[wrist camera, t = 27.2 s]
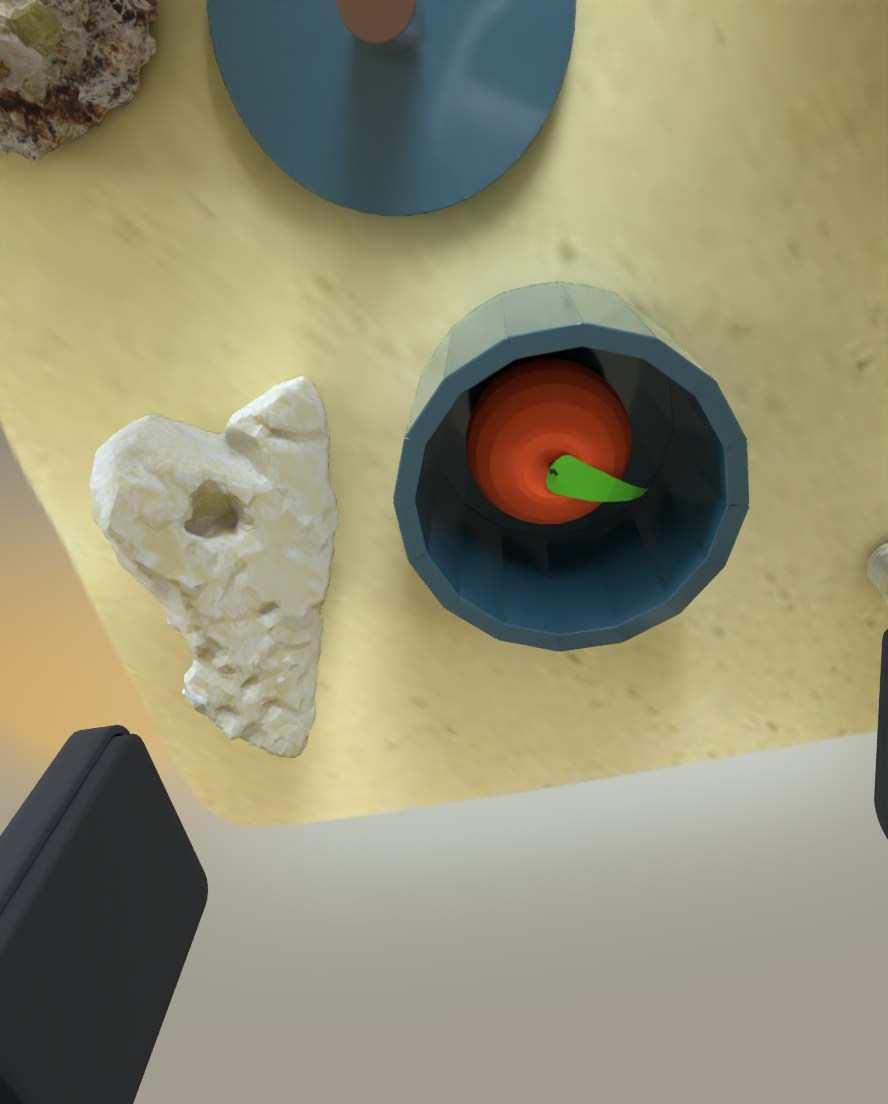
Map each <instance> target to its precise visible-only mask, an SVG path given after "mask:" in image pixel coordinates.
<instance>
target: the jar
mask: <svg viewBox="0 0 888 1104" xmlns="http://www.w3.org/2000/svg"><path fill="white" fill-rule="evenodd" d="M549 358H559V359H563V360H567V361H572V362H576V363H579V364H581V365H583V366H584V367H586V368H588V369H590V370H592V371H594V372H596V373H597V374H599V375H600V376H601V377H602V378H603V379H604V380H605V381H606V382H607V383H608V384H609V385H610V386H611V387H612V388H613V389H614V390H616V392H617V394H618V396H619V397H620V399H621V401H622V403H623V405H624V406H625V408H626V411H627V415H628V420H629V424H630V429H631V452H630V459H629V462H628V465H627V468H626V471H625V474H624V477H623V478H622V480H621V481H623V482H626V483H628V484H631V485H633V486H636V487H639V488H643V489H645V488H647V487H649V488H648V490H647V491H646V492H645V493H644V494H643V495H642V496H640V497H638V498H635V499H632V500H627V501H615V502H603V503H601V504H600V505H599V506H598V507H597V508H596V509H595V510H593V511H591V512H589V513H588V514H586V515H584V516H582V517H580V518H578V519H575V520H572V521H568V522H564V523H561V524H537V523H532V522H527V521H523V520H519V519H517V518H515V517H513V516H511V515H509V514H507V513H505V512H503V511H501V510H499V509H498V508H497V507H496V506H495V505H494V504H493V503H491V502H490V501H489V500H488V499H487V498H486V497H485V496H484V494H483V493H482V491H481V490H480V488H479V487H478V485H477V484H476V482H475V480H474V478H473V475H472V472H471V469H470V465H469V462H468V459H467V456H466V437H465V435H466V431H467V426H468V422H469V418H470V414H471V412H472V411H473V409H474V407H475V405H476V403H477V401H478V400H479V398H480V396H481V394H482V392H483V391H484V390H485V389H486V388H487V387H488V386H489V385H490V384H491V383H492V382H493V380H494V379H495V378H496V377H497V376H499V375H501V374H502V373H504V372H505V371H507V370H509V369H510V368H512V367H513V366H515V365H518V364H521V363H525V362H528V361H531V360H534V359H549ZM393 499H394V502H393V503H394V507H395V511H396V515H397V519H398V523H399V527H400V531H401V535H402V539H403V543H404V547H405V551H406V555H407V559H408V561H409V563H410V564H411V565H412V567H413V568H414V569H415V571H416V572H417V573H418V575H419V576H420V577H421V578H422V580H423V581H424V582H425V584H426V585H427V586H428V588H429V589H430V590H431V591H432V593H433V594H434V595H435V597H436V598H437V599H438V601H439V602H440V603H441V605H442V606H443V607H444V608H446V609H447V610H448V611H450V612H452V613H453V614H455V615H457V616H458V617H460V618H462V619H464V620H465V621H467V622H469V623H470V624H472V625H474V626H475V627H477V628H479V629H480V630H482V631H484V632H485V633H487V634H489V635H491V636H492V637H494V638H496V639H498V640H501V641H506V642H511V643H516V644H522V645H527V646H532V647H538V648H543V649H548V650H553V651H567V650H574V649H581V648H588V647H595V646H602V645H609V644H616V643H621V642H624V641H626V640H628V639H630V638H632V637H634V636H636V635H638V634H640V633H642V632H644V631H646V630H648V629H650V628H652V627H654V626H656V625H658V624H660V623H662V622H664V621H666V620H668V619H670V618H672V617H674V616H676V615H678V614H679V613H681V612H682V611H683V610H684V609H685V608H686V607H687V606H688V605H689V604H690V603H691V601H692V600H693V599H694V598H695V597H696V596H697V595H698V594H699V593H700V592H701V591H702V590H703V589H704V588H705V587H706V586H707V585H708V584H709V583H710V582H711V581H712V579H713V578H714V577H715V576H716V575H717V574H718V573H719V572H720V571H721V570H722V569H723V568H724V566H725V565H726V563H727V560H728V558H729V555H730V553H731V550H732V548H733V546H734V543H735V541H736V538H737V536H738V533H739V531H740V528H741V526H742V523H743V521H744V519H745V516H746V514H747V511H748V509H749V483H748V454H747V438H746V437H745V435H744V433H743V431H742V429H741V427H740V425H739V423H738V421H737V420H736V418H735V416H734V414H733V412H732V410H731V408H730V406H729V404H728V402H727V401H726V399H725V397H724V395H723V393H722V391H721V389H720V387H719V385H718V384H717V382H716V381H715V380H714V378H713V377H712V376H711V375H710V374H709V373H708V372H707V371H706V370H705V369H704V368H703V367H702V366H701V365H700V364H699V363H698V362H697V361H696V360H695V359H694V358H693V357H692V356H691V355H690V354H689V353H688V352H687V351H686V350H685V349H684V348H683V347H682V346H681V345H680V344H679V343H678V342H677V341H676V340H674V339H673V338H672V337H671V336H670V335H669V334H668V333H667V332H666V331H665V330H664V329H663V328H662V327H661V326H660V325H659V324H658V323H656V322H655V321H653V320H652V319H651V318H649V317H648V316H647V315H645V314H644V313H643V312H641V311H640V310H639V309H638V308H637V307H635V306H633V305H632V304H630V303H629V302H628V301H626V300H625V299H624V298H622V297H621V296H620V295H618V294H615V293H612V292H608V291H604V290H601V289H597V288H594V287H590V286H587V285H580V284H573V283H565V282H560V283H559V282H553V283H543V284H535V285H529V286H525V287H521V288H518V289H514V290H511V291H508V292H503V293H502V294H499V295H497V296H496V297H494V298H492V299H490V300H489V301H487V302H485V303H484V304H482V305H480V306H478V307H477V308H475V309H474V310H473V311H472V312H470V313H469V314H468V315H466V316H465V317H464V318H463V319H461V320H460V321H459V322H458V323H456V324H455V325H454V326H453V327H452V328H451V329H450V331H449V332H448V334H447V335H446V337H445V338H444V339H443V340H442V342H441V343H440V344H439V346H438V347H437V349H436V351H435V352H434V354H433V356H432V358H431V359H430V361H429V362H428V364H427V366H426V367H425V369H424V370H423V372H422V374H421V378H420V381H419V385H418V389H417V392H416V396H415V400H414V404H413V407H412V411H411V415H410V418H409V422H408V426H407V430H406V433H405V437H404V442H403V447H402V453H401V459H400V464H399V470H398V475H397V481H396V486H395V492H394V497H393Z"/></svg>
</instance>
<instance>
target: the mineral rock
mask: <svg viewBox="0 0 888 1104" xmlns="http://www.w3.org/2000/svg"><path fill="white" fill-rule="evenodd" d="M157 6H158V3H157V1H156V0H0V154H1V155H8V152H15V153H18V154H19V153H20V154H21V155H23V156H24V157H26V158H27V159H29V160H30V161H32V162H35V161H38V160H41V158H42V156H43V155H44V154H45V153H47V152H49V151H51V150H53V149H56V148H59V143H60V142H64V141H72V140H73V139H75V138H80V137H81V136H82V135H83V134H84V133H85V132H87V130H88V127H90V126H99V124H100V122H101V120H102V119H103V118H104V116H105V115H106V113H107V111H108V110H110V109H112V108H114V107H115V106H125V105H127V104H128V103H129V102H130V100H132V98H133V95H134V93H135V92H136V90H137V89H138V88H140V81H139V73H140V67H142V66H143V65H144V64H146V63H147V62H148V61H149V59H150V56H151V55H153V54H156V53H157V52H156V41H155V39H154V38H153V37H152V36H151V35H150V34H149V27H150V26H151V25H152V24H153V23H155V21H156V18H157V15H158V14H157V13H158V12H159V11H158V7H157Z"/></svg>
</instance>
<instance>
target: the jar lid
mask: <svg viewBox="0 0 888 1104" xmlns="http://www.w3.org/2000/svg"><path fill="white" fill-rule="evenodd" d="M207 10H208V18H209V27H210V34H211V39H212V43H213V48H214V52H215V56H216V61H217V64H218V67H219V69H220V72H221V75H222V78H223V81H224V84H225V87H226V89H227V91H228V93H229V96H230V98H231V100H232V102H233V104H234V106H235V108H236V110H237V112H238V114H239V116H240V117H241V119H242V120H243V122H244V124H245V125H246V127H247V129H248V130H249V132H250V134H251V135H252V136H253V137H254V139H255V140H256V141H257V143H258V144H259V145H260V146H261V148H262V149H263V150H264V152H265V153H266V154H267V155H268V156H269V157H270V158H271V159H272V160H273V161H274V162H275V163H276V164H277V165H278V166H279V167H280V168H281V169H282V170H283V171H284V172H285V173H286V174H288V175H289V176H290V177H292V178H293V179H294V180H295V181H297V182H298V183H299V184H300V185H302V186H303V187H305V188H306V189H308V190H310V191H311V192H313V193H315V194H316V195H318V196H320V197H321V198H323V199H326V200H328V201H330V202H333V203H335V204H337V205H339V206H342V207H345V208H348V209H352V210H355V211H359V212H362V213H368V214H375V215H382V216H410V215H417V214H424V213H430V212H433V211H436V210H440V209H443V208H447V207H450V206H452V205H454V204H457V203H459V202H461V201H463V200H465V199H468V198H470V197H472V196H473V195H475V194H476V193H478V192H479V191H481V190H483V189H484V188H486V187H487V186H489V185H490V184H492V183H493V182H494V181H495V180H496V179H498V178H499V177H500V176H501V175H502V174H504V173H505V172H506V171H507V170H508V169H509V168H510V167H511V166H512V165H513V164H514V163H515V162H516V161H517V160H518V158H519V157H520V156H521V155H522V154H523V153H524V152H525V151H526V149H527V148H528V146H529V145H530V144H531V142H532V141H533V140H534V138H535V137H536V135H537V134H538V133H539V131H540V129H541V128H542V126H543V124H544V122H545V120H546V119H547V117H548V115H549V113H550V111H551V110H552V107H553V105H554V103H555V100H556V98H557V95H558V93H559V90H560V88H561V86H562V83H563V79H564V76H565V72H566V69H567V65H568V62H569V58H570V54H571V48H572V42H573V36H574V30H575V15H576V0H207Z"/></svg>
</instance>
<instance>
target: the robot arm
mask: <svg viewBox="0 0 888 1104" xmlns="http://www.w3.org/2000/svg"><path fill="white" fill-rule="evenodd" d="M874 801H875V809H876V813H877V817H878V820H879V823H880V826H881V828H882V830H883V832H884V834H885V835H886V837H887V839H888V630H886V631H885V632H884V634H883V639H882V655H881V675H880V694H879V714H878V735H877V754H876V775H875V794H874ZM207 895H208V884H207V878H206V875H205V872H204V870H203V868H202V866H201V864H200V862H199V860H198V858H197V856H196V853H195V851H194V849H193V847H192V845H191V842H190V841H189V838H188V836H187V834H186V832H185V830H184V828H183V826H182V824H181V821H180V819H179V817H178V815H177V813H176V810H175V808H174V807H173V804H172V802H171V800H170V798H169V796H168V793H167V792H166V790H165V787H164V785H163V783H162V781H161V779H160V776H159V774H158V772H157V770H156V768H155V766H154V764H153V761H152V760H151V757H150V755H149V753H148V751H147V749H146V747H145V744H144V742H143V741H142V739H141V738H140V737H139V736H138V735H136V734H130V733H129V731H128V730H127V729H126V728H125V727H123V726H120V725H114V726H107V727H99V728H92V729H85V730H79V731H77V732H74V733H73V734H72V736H71V737H69V739H68V740H67V741H66V743H65V744H64V746H63V747H62V749H61V750H60V752H59V753H58V754H57V756H56V757H55V759H54V760H53V761H52V763H51V764H50V766H49V767H48V769H47V770H46V771H45V773H44V775H43V776H42V777H41V779H40V780H39V781H38V783H37V784H36V786H35V787H34V789H33V790H32V792H31V793H30V794H29V796H28V797H27V799H26V800H25V802H24V803H23V804H22V806H21V807H20V809H19V810H18V812H17V813H16V814H15V816H14V817H13V819H12V820H11V821H10V823H9V825H8V826H7V827H6V829H5V830H4V832H3V833H2V834H1V836H0V1104H133V1103H134V1100H135V1097H136V1094H137V1092H138V1089H139V1086H140V1083H141V1081H142V1078H143V1075H144V1072H145V1070H146V1067H147V1064H148V1061H149V1058H150V1056H151V1053H152V1051H153V1048H154V1045H155V1042H156V1039H157V1037H158V1034H159V1031H160V1029H161V1026H162V1023H163V1020H164V1018H165V1015H166V1012H167V1010H168V1006H169V1004H170V1001H171V998H172V996H173V993H174V990H175V988H176V985H177V982H178V979H179V977H180V974H181V971H182V968H183V966H184V963H185V960H186V957H187V955H188V952H189V949H190V947H191V944H192V941H193V938H194V936H195V933H196V930H197V927H198V924H199V922H200V919H201V916H202V914H203V911H204V908H205V905H206V901H207Z"/></svg>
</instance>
